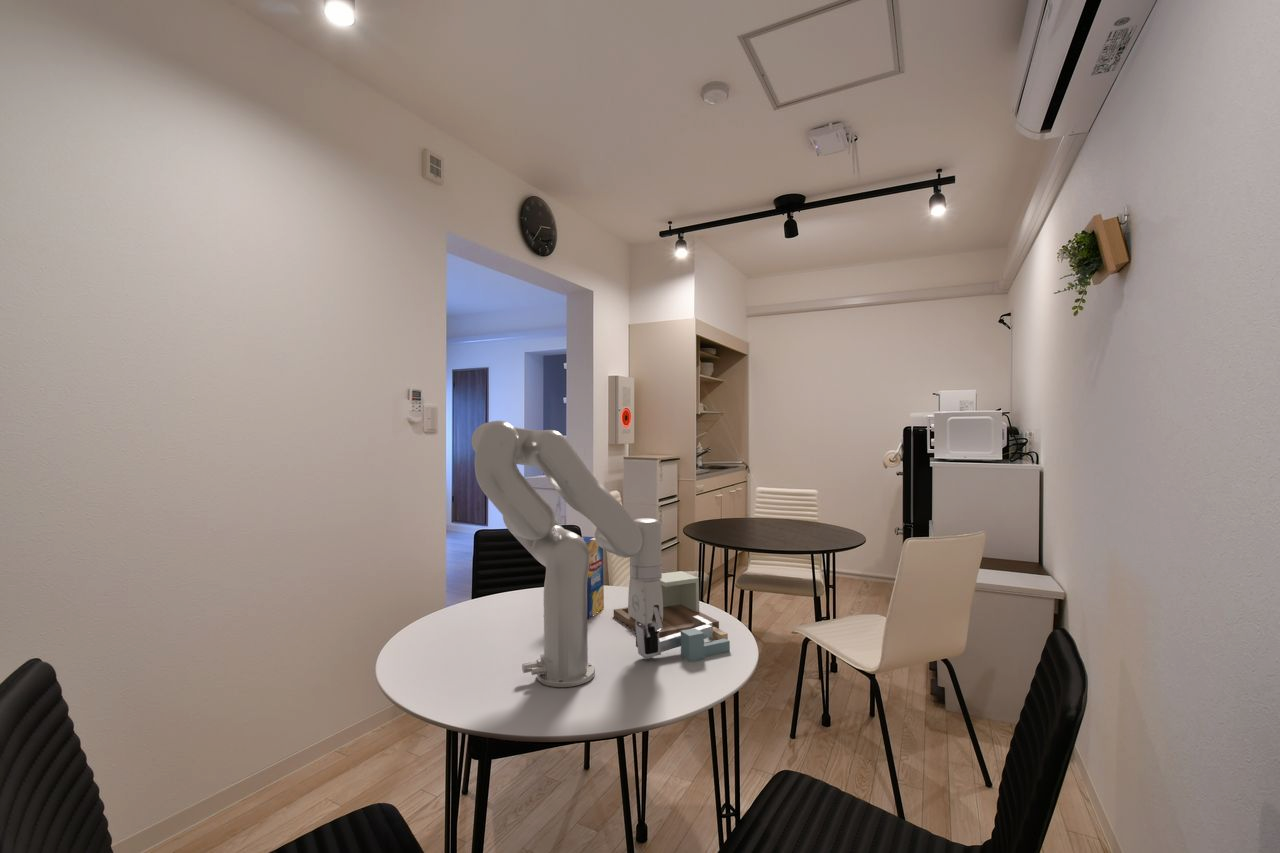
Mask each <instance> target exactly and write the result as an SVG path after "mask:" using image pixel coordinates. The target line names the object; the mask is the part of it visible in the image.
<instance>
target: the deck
mask: <svg viewBox="0 0 1280 853" xmlns="http://www.w3.org/2000/svg"><path fill="white" fill-rule="evenodd" d="M696 615H698V616H700V617H702V618H704V619H706V620H708V621H710V622H712V626H713V627H716V628H718V629H720V621H718V620H717V619H715V618H713V617H711V616H709V615H707V614H705V613H703V612H701V611H699V612H695V611H693V610H691V609H689V608H687V607H685V606H683V605H681V604H680V605H673V606H667V607H663V620H662V626H663V628H662V629H661V630H660V631H659V638H662V637H665V636H669V635H672V634H676V633H679V632H681V631H682V630H688V629H692V628H696V627H695V626H694V625H693V616H696ZM614 616H615V617H616V619H617V618H618V619H619V620H618V619H617V620H618V621H620V620H621V621H622V622H621V621H620V622H621V623H622V624H624V623H625V624H624V625H626V626H627V625H628V626H629V627H628V626H627V627H628V628H630V627H631V628H632V630H633V629H634V630H635V631H634V630H633V631H634V632H636V629H635V620H634V618H632V617H631V616H630V615H629V613H628V606H626V607H621V608H614V609H613V617H614ZM615 617H614V618H615ZM651 621H652V622H654V620H651ZM631 628H630V629H631Z"/></svg>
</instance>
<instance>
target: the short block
mask: <svg viewBox="0 0 1280 853" xmlns="http://www.w3.org/2000/svg"><path fill="white" fill-rule="evenodd" d="M728 634H729V633H727V632H725V631H724V630H721V629H720V628H719V629H718V628H716V627H713V633H712V635H713V636H712V637H709V638H710V639H711V640H712V641H715V640H720V639H727V640H728V638H729V636H728ZM709 638H708V639H709Z"/></svg>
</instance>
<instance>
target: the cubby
mask: <svg viewBox="0 0 1280 853" xmlns="http://www.w3.org/2000/svg"><path fill="white" fill-rule="evenodd" d="M699 579H700V577H697V576H695V575H692V574H689V573H688V572H685V571H682V570H680V571H671V572H664V573H663V572H662V578H661V579H660V580H661V587H662V597H663V607H667V606H673V605H680V604H681V605H683V606H685V607H687V608H689V609H691V610H693V611H695V612H700V580H699Z"/></svg>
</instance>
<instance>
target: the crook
mask: <svg viewBox="0 0 1280 853" xmlns="http://www.w3.org/2000/svg"><path fill="white" fill-rule="evenodd" d="M651 622H652V621H651ZM693 625H694V626H695V627H696V629H697V630H699V631H701V632H703V633H704V640H705V639H709V637H712V636H713V635H712V633H713V626H712V622H710V621H708V620H706V619H704V618H702V617H700V616H698V615H696V616H693ZM635 626H636V631H635V637H636V636H637V646H638V648H637V653H638V654H639V655H640V656H641V657H642V658H643V659H645V660H647V659H650V658H654V657H657V656H660V655H662V653H664V652H667V651H670V650H673V649H677V648H679V647H680V648H681V632H679V633H676V634H672V635H669V636H665V637H662V638H659V635H658V652H657V653H652V654H645V636H646V627H645V625H643V624H641V623H638V624H635ZM651 627H654V625H650V629H651ZM692 629H693V628H692Z"/></svg>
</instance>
